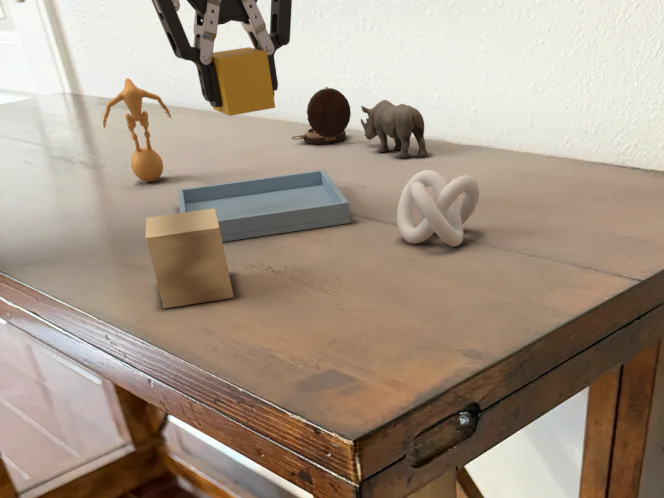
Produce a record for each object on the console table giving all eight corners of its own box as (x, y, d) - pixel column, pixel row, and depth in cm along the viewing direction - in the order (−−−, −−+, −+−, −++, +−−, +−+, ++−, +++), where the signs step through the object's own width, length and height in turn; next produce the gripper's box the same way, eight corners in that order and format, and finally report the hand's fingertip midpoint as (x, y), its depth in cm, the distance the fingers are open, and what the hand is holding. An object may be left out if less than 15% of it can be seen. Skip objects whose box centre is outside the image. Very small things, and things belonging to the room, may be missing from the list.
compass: (339, 133, 121) (332, 77, 117) (354, 143, 115) (348, 85, 111) (287, 141, 119) (279, 85, 115) (300, 151, 113) (292, 93, 109)
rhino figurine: (377, 140, 115) (373, 93, 112) (434, 155, 106) (431, 104, 102) (352, 146, 114) (347, 98, 110) (408, 161, 104) (405, 109, 101)
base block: (163, 308, 70) (145, 237, 66) (163, 285, 74) (145, 217, 71) (233, 297, 70) (219, 227, 67) (228, 275, 75) (214, 207, 71)
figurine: (179, 172, 108) (156, 70, 101) (188, 182, 104) (165, 75, 97) (116, 183, 106) (88, 79, 99) (123, 193, 102) (94, 85, 94)
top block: (229, 116, 81) (218, 58, 78) (213, 109, 84) (202, 53, 81) (275, 107, 82) (267, 50, 79) (258, 101, 86) (249, 47, 83)
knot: (456, 221, 83) (454, 160, 80) (498, 241, 77) (498, 176, 74) (390, 236, 81) (385, 174, 77) (429, 258, 75) (425, 191, 71)
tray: (186, 247, 83) (181, 226, 81) (181, 208, 94) (177, 189, 93) (351, 223, 85) (348, 202, 84) (326, 188, 97) (324, 169, 96)
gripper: (264, -114, 78) (292, 86, 88) (116, -103, 73) (164, 108, 83) (295, -119, 72) (321, 95, 83) (137, -108, 67) (185, 118, 78)
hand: (242, 100), depth 83 cm, fingers closed on top block, 5 cm apart
